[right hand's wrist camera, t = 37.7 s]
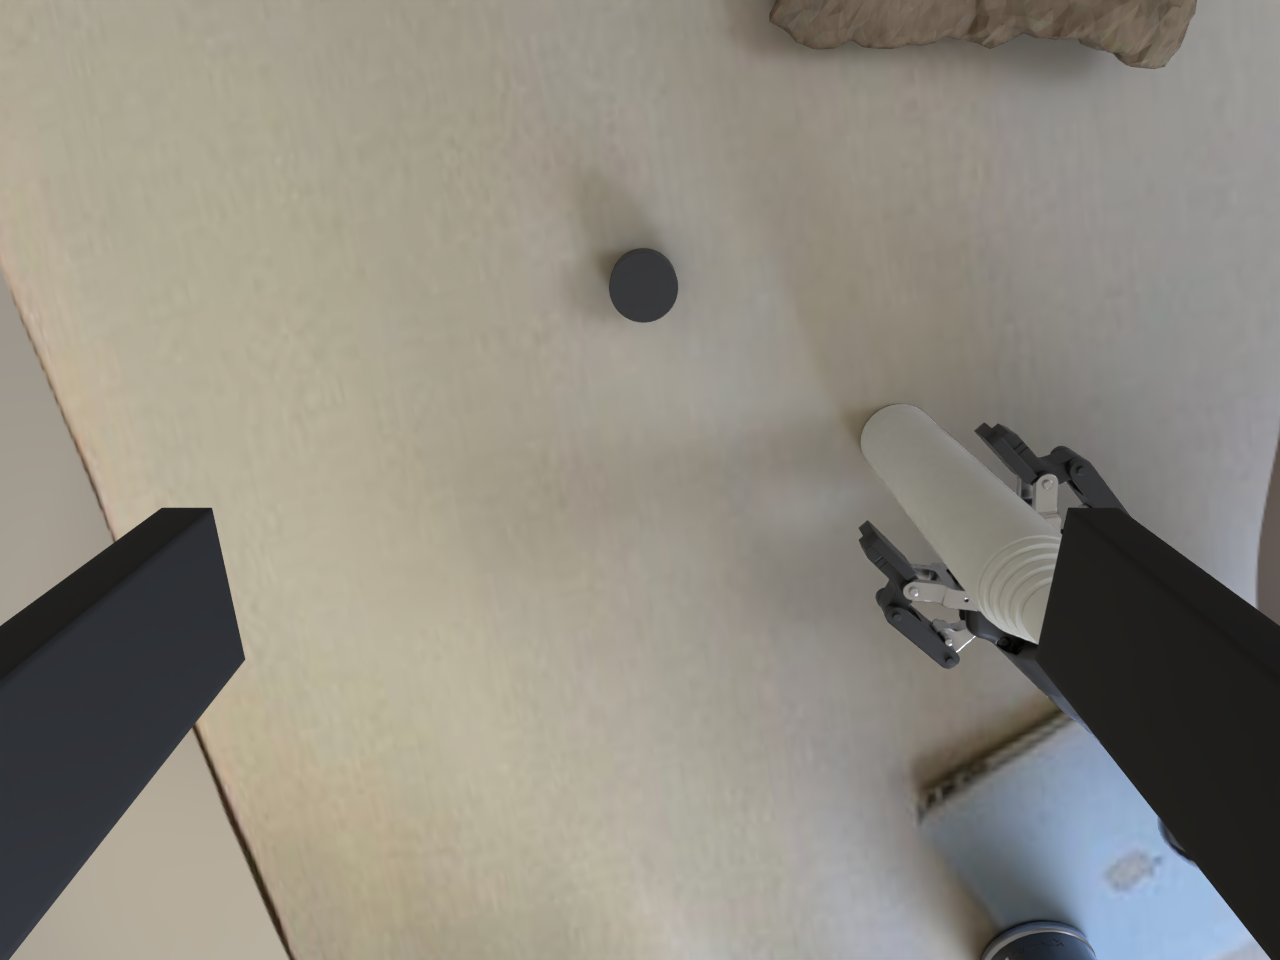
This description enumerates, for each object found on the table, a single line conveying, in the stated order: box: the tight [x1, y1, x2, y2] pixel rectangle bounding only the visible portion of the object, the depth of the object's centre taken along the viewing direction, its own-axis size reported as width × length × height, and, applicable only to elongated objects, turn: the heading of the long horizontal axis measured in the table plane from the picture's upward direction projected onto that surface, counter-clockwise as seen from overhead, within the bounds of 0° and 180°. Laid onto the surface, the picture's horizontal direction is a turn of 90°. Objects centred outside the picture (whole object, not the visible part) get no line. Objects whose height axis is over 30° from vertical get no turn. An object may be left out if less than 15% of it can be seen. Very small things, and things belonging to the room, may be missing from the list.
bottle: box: [861, 404, 1062, 644], centre depth 40 cm, size 5×5×25 cm
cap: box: [609, 248, 678, 322], centre depth 47 cm, size 4×4×2 cm
